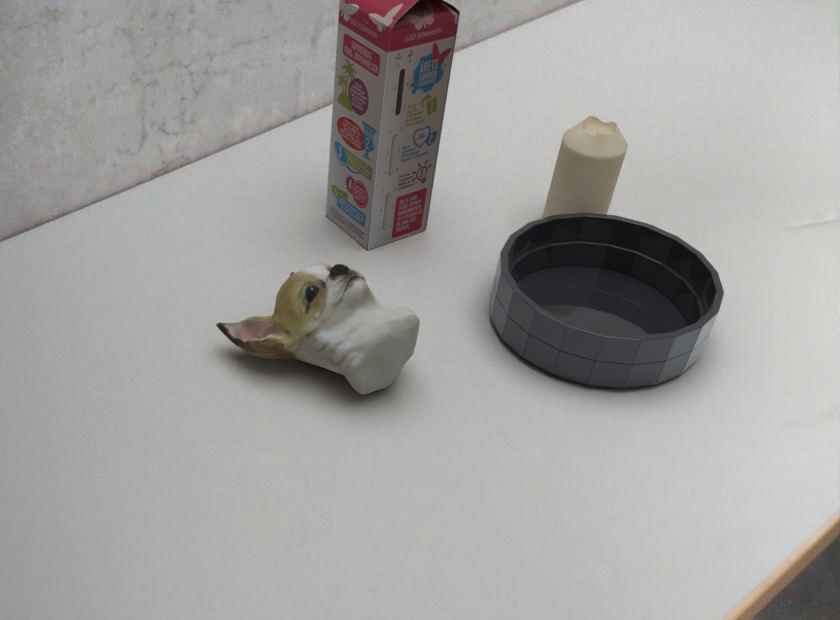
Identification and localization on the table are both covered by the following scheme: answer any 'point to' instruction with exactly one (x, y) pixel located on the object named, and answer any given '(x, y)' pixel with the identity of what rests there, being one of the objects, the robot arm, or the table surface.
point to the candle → (586, 168)
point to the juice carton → (388, 115)
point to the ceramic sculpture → (332, 327)
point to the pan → (604, 299)
